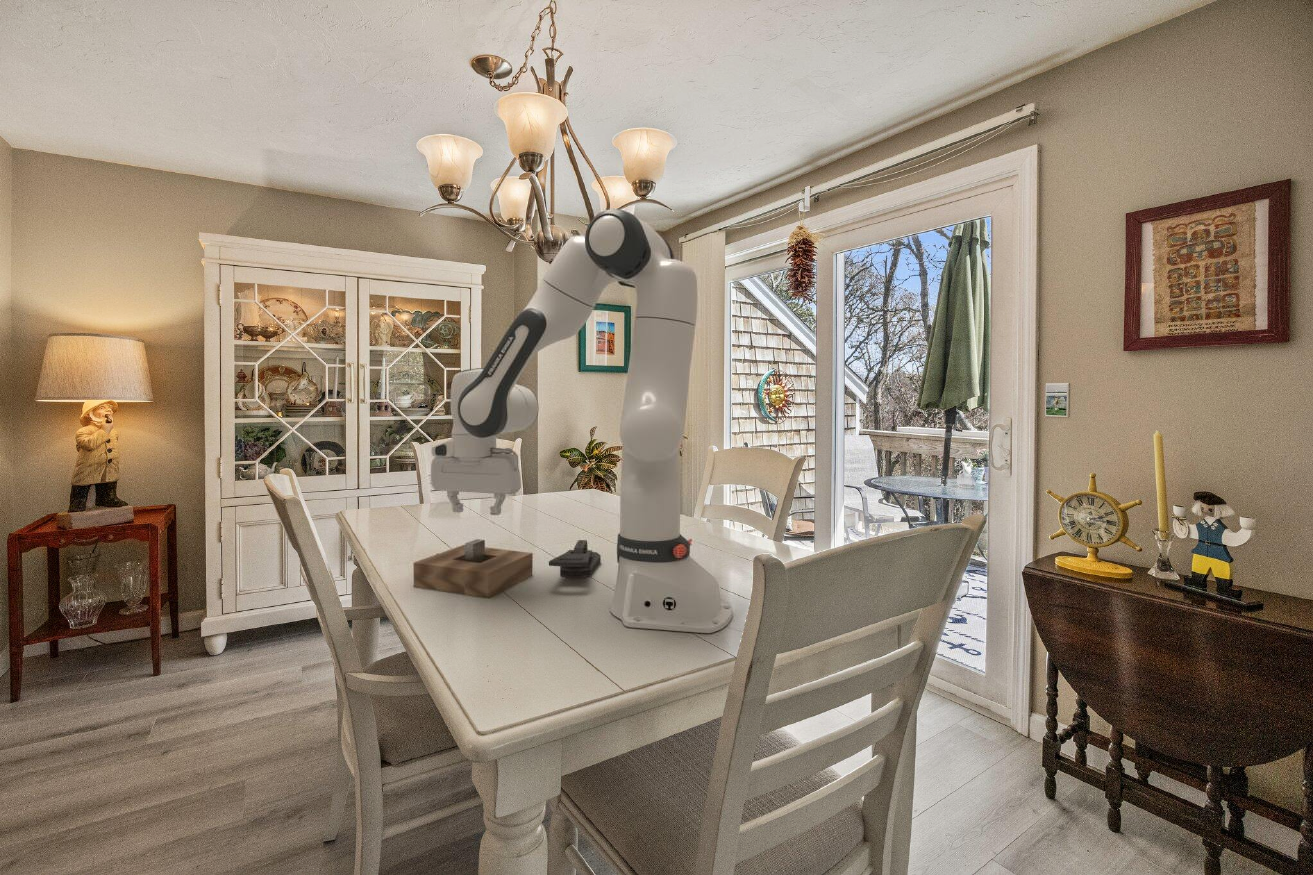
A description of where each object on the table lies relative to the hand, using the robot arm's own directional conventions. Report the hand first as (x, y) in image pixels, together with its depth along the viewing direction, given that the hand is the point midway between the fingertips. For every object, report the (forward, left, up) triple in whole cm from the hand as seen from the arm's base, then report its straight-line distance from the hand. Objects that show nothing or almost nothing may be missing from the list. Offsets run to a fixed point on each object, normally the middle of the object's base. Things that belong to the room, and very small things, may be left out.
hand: (476, 513), depth 127 cm
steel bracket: (0, 0, -15) cm, 15 cm away
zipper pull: (-17, -12, -15) cm, 26 cm away
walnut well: (0, 0, -15) cm, 14 cm away
